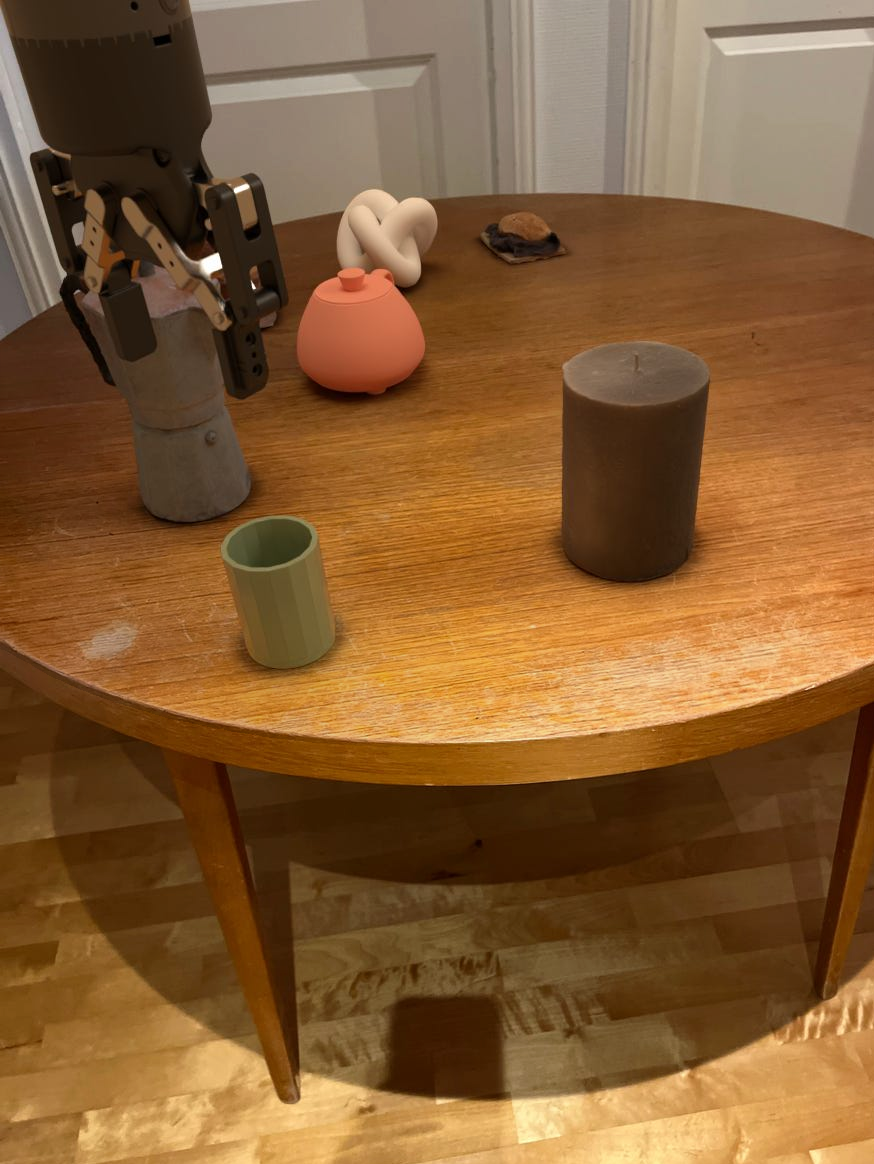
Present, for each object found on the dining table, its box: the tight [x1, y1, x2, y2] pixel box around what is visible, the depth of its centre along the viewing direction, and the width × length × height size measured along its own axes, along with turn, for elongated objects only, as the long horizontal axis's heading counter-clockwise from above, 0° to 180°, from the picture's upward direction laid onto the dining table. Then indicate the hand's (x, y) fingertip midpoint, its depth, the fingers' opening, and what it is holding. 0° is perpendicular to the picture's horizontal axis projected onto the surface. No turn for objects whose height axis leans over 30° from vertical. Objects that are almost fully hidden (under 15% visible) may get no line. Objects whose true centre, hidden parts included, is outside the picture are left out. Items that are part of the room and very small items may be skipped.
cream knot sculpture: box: [336, 188, 438, 289], centre depth 112 cm, size 11×12×9 cm
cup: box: [219, 514, 337, 670], centre depth 63 cm, size 6×6×8 cm
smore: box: [479, 211, 567, 265], centre depth 120 cm, size 11×8×4 cm
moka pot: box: [58, 259, 253, 523], centre depth 74 cm, size 10×15×20 cm, turn 70°
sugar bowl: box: [296, 268, 426, 395], centre depth 93 cm, size 12×14×10 cm
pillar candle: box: [560, 340, 711, 582], centre depth 68 cm, size 10×10×15 cm
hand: (192, 373), depth 52 cm, fingers open, 8 cm apart
